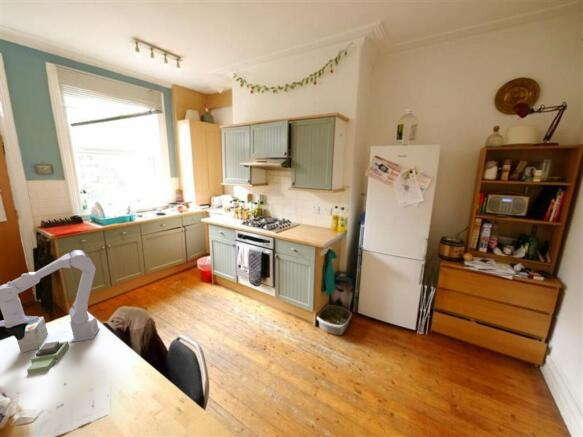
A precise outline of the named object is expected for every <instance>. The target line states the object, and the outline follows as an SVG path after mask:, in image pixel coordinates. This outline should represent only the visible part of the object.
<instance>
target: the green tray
mask: <svg viewBox="0 0 583 437" xmlns="http://www.w3.org/2000/svg"><path fill="white" fill-rule="evenodd" d="M59 343H62V347H61V348H60V349H59V350H58V351H57V353H56V354H50V355H44V356H38V357H36V356H33V357H31V358H30V359H29V360H30V363H31V364H30V365H29V367H28V368H27V369H26V371H27V374H28V375H29V374H35V373H39V372H46V371H49V370H50V369H51V368H52V367H53V365H54V364H55V363H56V361H57V362H58V361H60V359H61V358H62V357H63V356H64V354H65V352H67V351H68V349H69V348H70V342H69V341H68V340H66V341H61V342H60V341H59ZM42 346H44V344H43V345H42Z"/></svg>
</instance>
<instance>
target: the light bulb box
mask: <svg viewBox="0 0 583 437" xmlns="http://www.w3.org/2000/svg"><path fill="white" fill-rule="evenodd" d="M38 318H39V320H38V321H37V322H36V323H33V322H31V323H27V326H26V329H25V337H24V338H23V339H22V340H17V339H16V340H17V341H16V342H17V345H18V348H19V351H20V353H27V352H31V351H36V350H40V349H41V347H42V346H43V345H42V344H43V343H44V341H45V340H46V339H47V337H48V336H49V332H48V328H47V325H46V321H45V317H44V316H38Z"/></svg>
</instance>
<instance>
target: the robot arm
mask: <svg viewBox="0 0 583 437" xmlns="http://www.w3.org/2000/svg"><path fill="white" fill-rule="evenodd" d="M71 266H72V267H73V268H76V269H78V270H80V271H82V272H81V277H80V279H79V284H78V289H77V293H76V296H75V299H74V300H75V301H74V302H73V304H72V306H71V307H70V309H69V310H68V314H69V317H70V322H69V324H70V328H71V331H72V336H73V337H71V339H70V340H69V343H74V342H75V343H76V342H80V341H87V340H93V339H94V337H95V336H96V334H97V333H98V331H100V327H99V324H98V321H97V318H96V317H91V316H90V315H89V314H88V306H89V304H88V302H89V299H90V294H91V290H92V287H93V282H94V277H95V273H96V269H97V268H96V266H95V265H94V263H93V260H91V258H90V257H89V255H88V254H87V253H86V252H85V251H83V250H82V249H74V250H72V251H71V252H68V253H65V254H63V255H62V256H60V257H59V258H57V259H55V260H54V261H52V262H50V263H49V264H47V265H45V266H43V267H42V268H40V269H38V270H37V271H34V272H33V271H29V272H27V273H26V272H25V273H22V274H21V276H20V277H18V278H15V279H13V280H12V281H10V280H9V281H8V282H6V283H4V284H2V285H0V311H1V314H2V316H3V320H0V327H5V329H4V331H5V332H7V333H9V334H11V335H12V337H14V338H15V339H16V340H22V339H23V338H24V337H25V329H26V326H27V323H31V322H33V323H36V322H37V321H38V320H39V316H38V315H37V316H35V315H34V316H31V315H26V314H25V312H24V309H23V308H24V307H23V306H22V302H21V299H20V297H19V294H20V293H22V292H24V291H26V290H28V289H29V288H31V287H33V286H35V285H37V284H39V283H40V281H41V279H42V278H44V277H46V276H48V275H50V274H52V273H54V272H56V271H58V270H60V269H62V268H64V269H71Z"/></svg>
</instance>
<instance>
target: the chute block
mask: <svg viewBox="0 0 583 437" xmlns="http://www.w3.org/2000/svg"><path fill="white" fill-rule="evenodd" d="M43 345H44V346H43ZM43 345H41V347H40V348H39V349H38V351H36V353H35V357H38V356H44V355H50V354H56V353H57V351H58V350H59V349H60V348H61V347H62V343H60V341H59V340H57V341H52V342H46V343H44V344H43Z"/></svg>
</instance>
